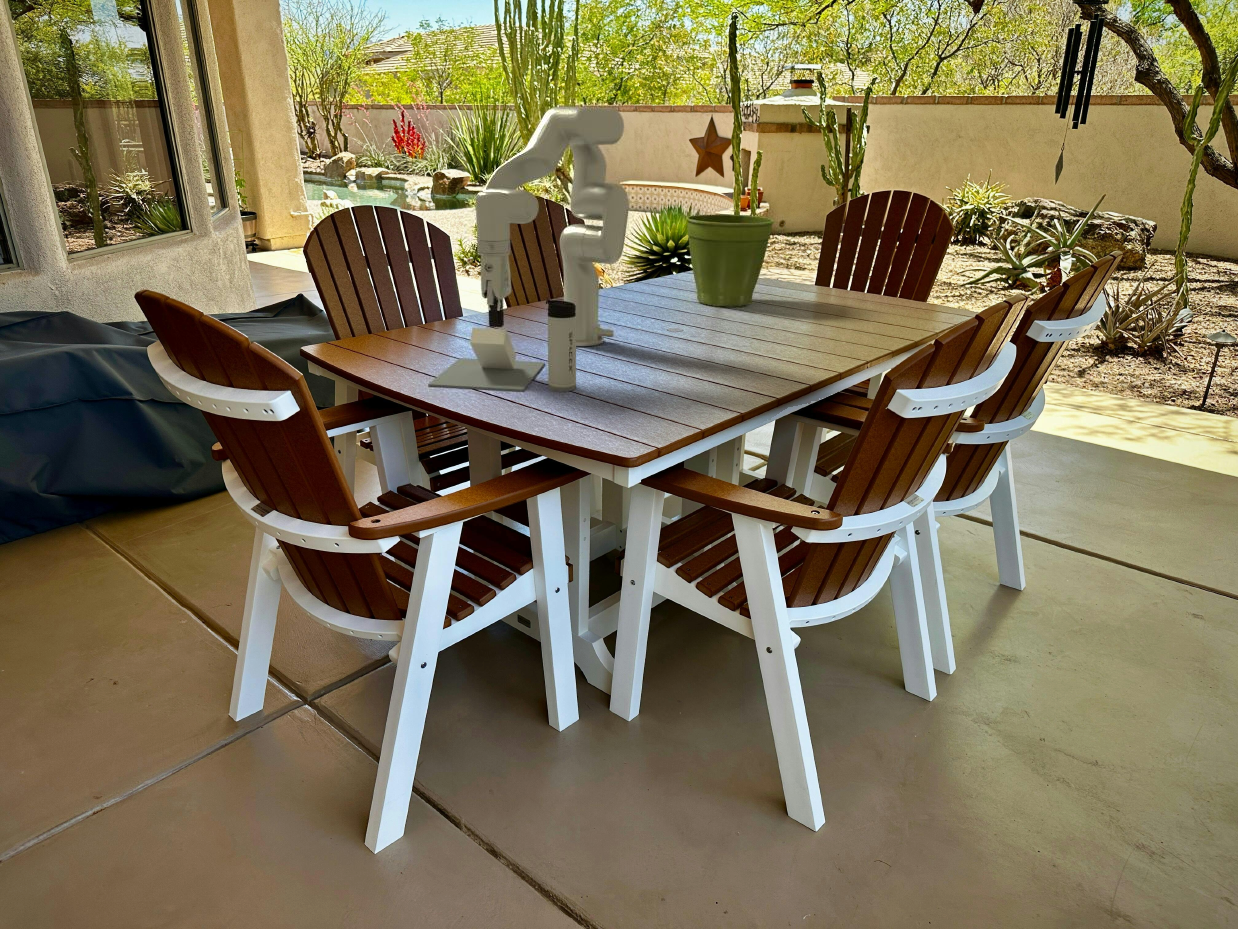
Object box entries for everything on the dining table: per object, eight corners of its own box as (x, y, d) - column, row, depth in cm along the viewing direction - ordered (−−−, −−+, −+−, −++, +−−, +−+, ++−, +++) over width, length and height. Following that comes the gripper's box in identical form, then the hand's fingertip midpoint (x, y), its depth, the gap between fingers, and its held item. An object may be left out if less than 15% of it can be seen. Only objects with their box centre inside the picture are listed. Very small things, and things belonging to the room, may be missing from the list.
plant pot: (684, 293, 301) (688, 213, 291) (765, 297, 298) (772, 215, 287) (679, 308, 274) (683, 220, 263) (768, 313, 270) (775, 223, 260)
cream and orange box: (516, 354, 198) (506, 328, 187) (513, 369, 197) (503, 344, 186) (484, 352, 199) (472, 326, 188) (481, 367, 198) (469, 342, 187)
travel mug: (547, 384, 187) (545, 297, 180) (575, 384, 188) (575, 297, 180) (547, 392, 181) (545, 302, 174) (576, 392, 182) (576, 303, 175)
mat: (544, 364, 204) (544, 362, 204) (523, 391, 182) (523, 389, 182) (459, 359, 206) (459, 357, 206) (428, 386, 184) (428, 384, 184)
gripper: (501, 252, 180) (503, 333, 187) (517, 244, 194) (519, 320, 200) (468, 250, 181) (472, 332, 187) (486, 243, 194) (489, 319, 201)
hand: (496, 326), depth 194 cm, fingers closed
